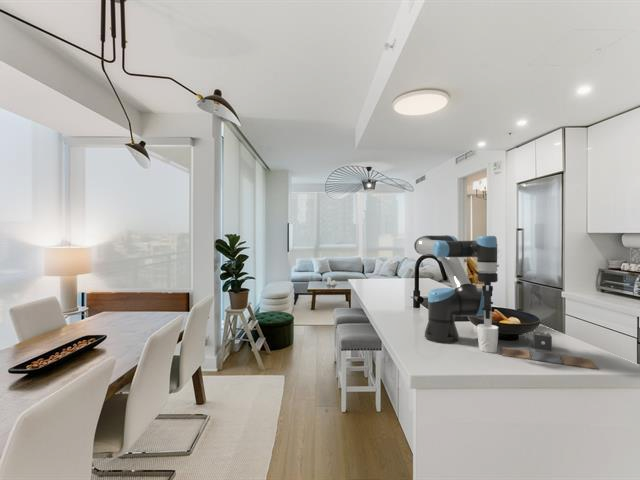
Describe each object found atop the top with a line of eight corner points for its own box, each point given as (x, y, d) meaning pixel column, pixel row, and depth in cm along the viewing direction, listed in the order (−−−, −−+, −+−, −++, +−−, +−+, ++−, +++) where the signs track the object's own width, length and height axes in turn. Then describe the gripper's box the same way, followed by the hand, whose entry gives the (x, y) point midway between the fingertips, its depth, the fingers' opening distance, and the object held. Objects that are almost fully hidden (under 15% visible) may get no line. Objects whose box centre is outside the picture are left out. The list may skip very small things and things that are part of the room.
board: (502, 355, 127) (502, 354, 127) (501, 348, 136) (501, 347, 136) (598, 369, 113) (598, 368, 113) (590, 360, 121) (590, 359, 121)
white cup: (490, 354, 128) (490, 330, 128) (473, 348, 135) (473, 325, 135) (502, 351, 132) (502, 327, 132) (485, 345, 139) (485, 323, 139)
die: (534, 348, 135) (534, 334, 135) (532, 344, 140) (532, 331, 140) (551, 351, 132) (551, 336, 132) (549, 346, 137) (549, 332, 137)
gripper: (498, 275, 121) (498, 331, 121) (497, 270, 143) (497, 317, 143) (476, 274, 124) (476, 328, 124) (478, 269, 146) (479, 315, 146)
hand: (488, 322), depth 133 cm, fingers open, 13 cm apart
